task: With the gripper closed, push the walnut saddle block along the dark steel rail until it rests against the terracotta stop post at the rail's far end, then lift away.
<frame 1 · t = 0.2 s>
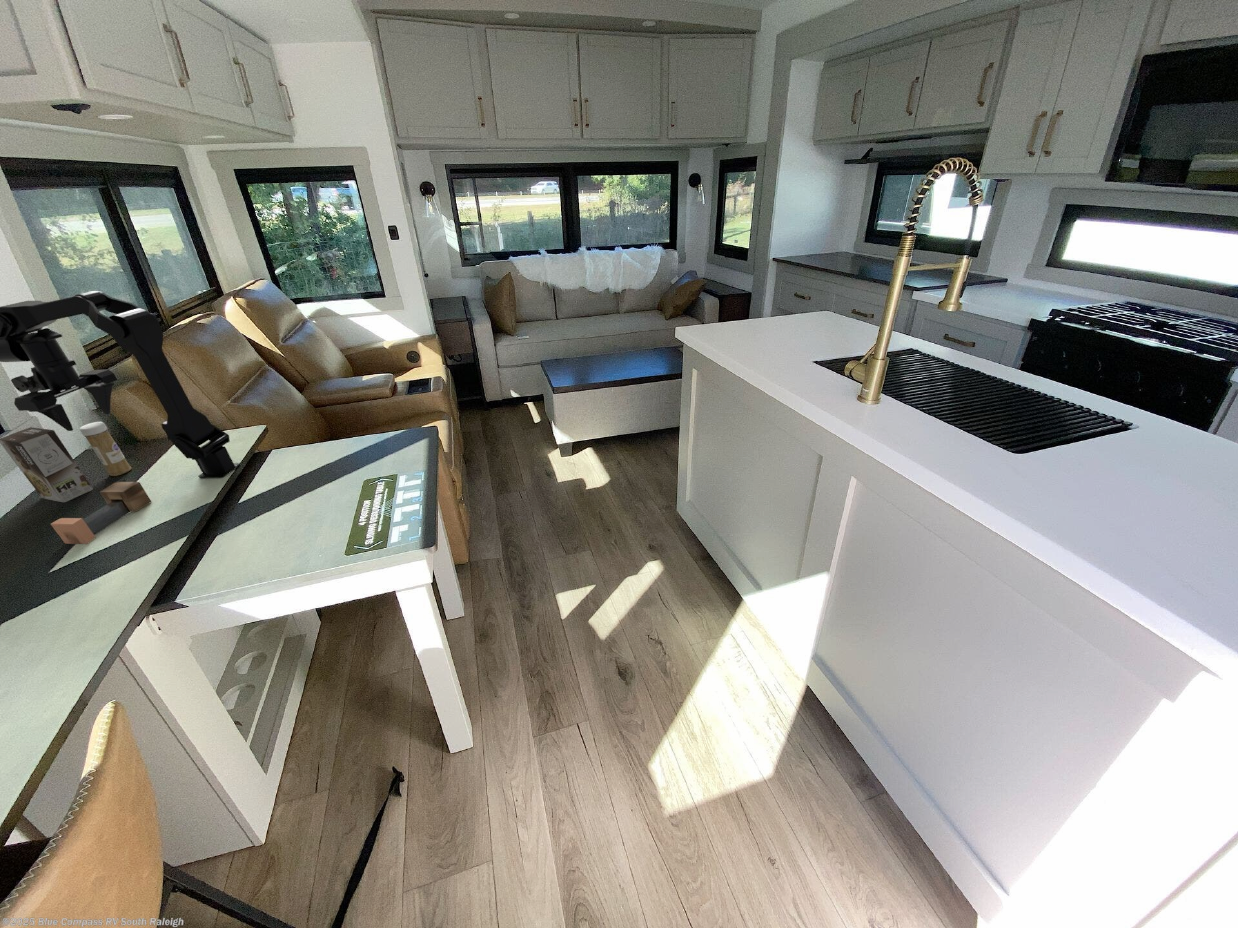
hand: (89, 422, 125), 14 cm above the table, tool pointing down, fingers open, 9 cm apart
stop post: (80, 540, 107), on the table
sprinkles bottle: (121, 472, 133), on the table
coffee box: (68, 494, 124), on the table
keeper: (126, 496, 116), point 3 cm above the table, slide at 0.0 cm
rail: (112, 520, 113), on the table
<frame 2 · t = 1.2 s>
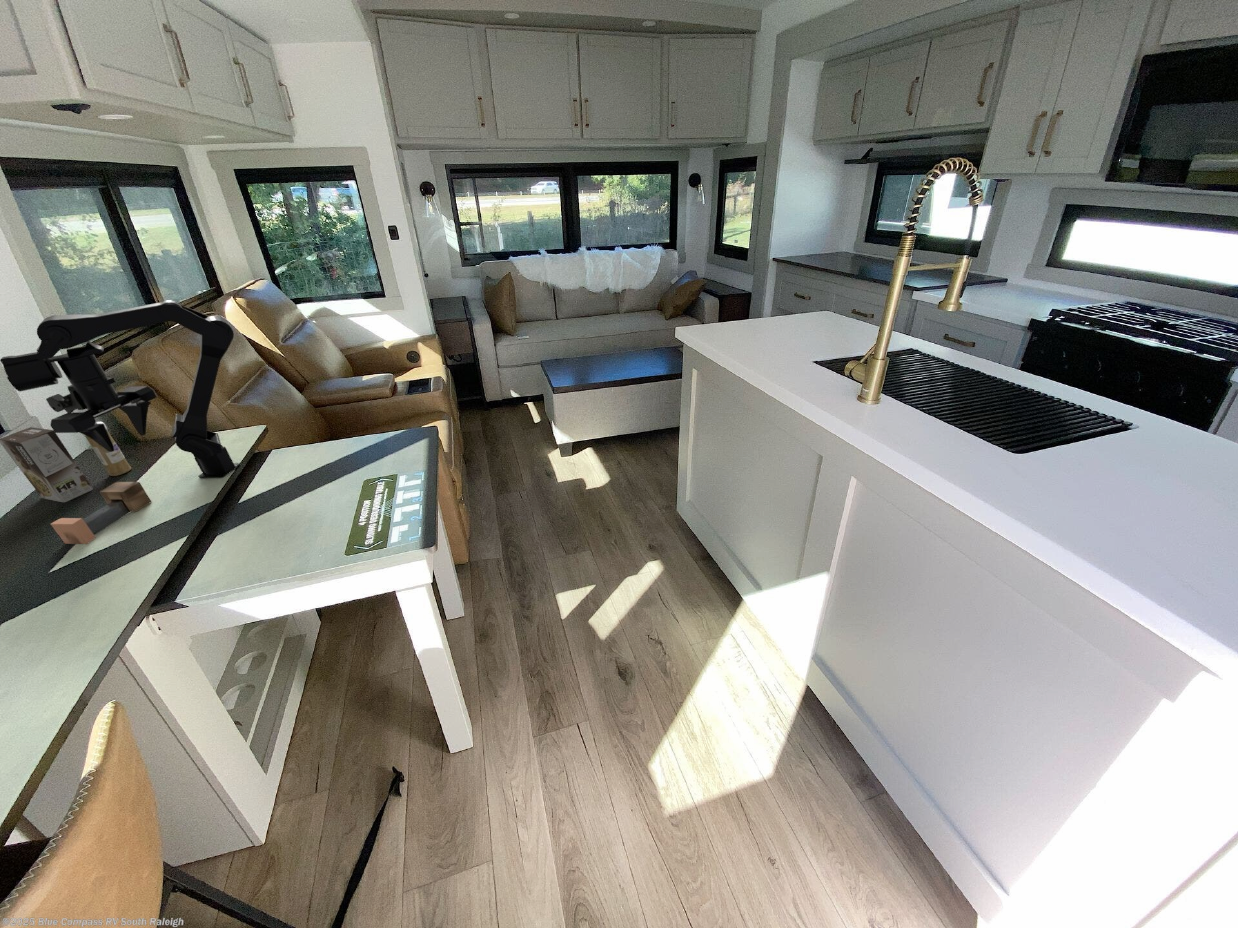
hand: (127, 443, 116), 13 cm above the table, tool pointing down, fingers open, 7 cm apart
nothing on the table moved.
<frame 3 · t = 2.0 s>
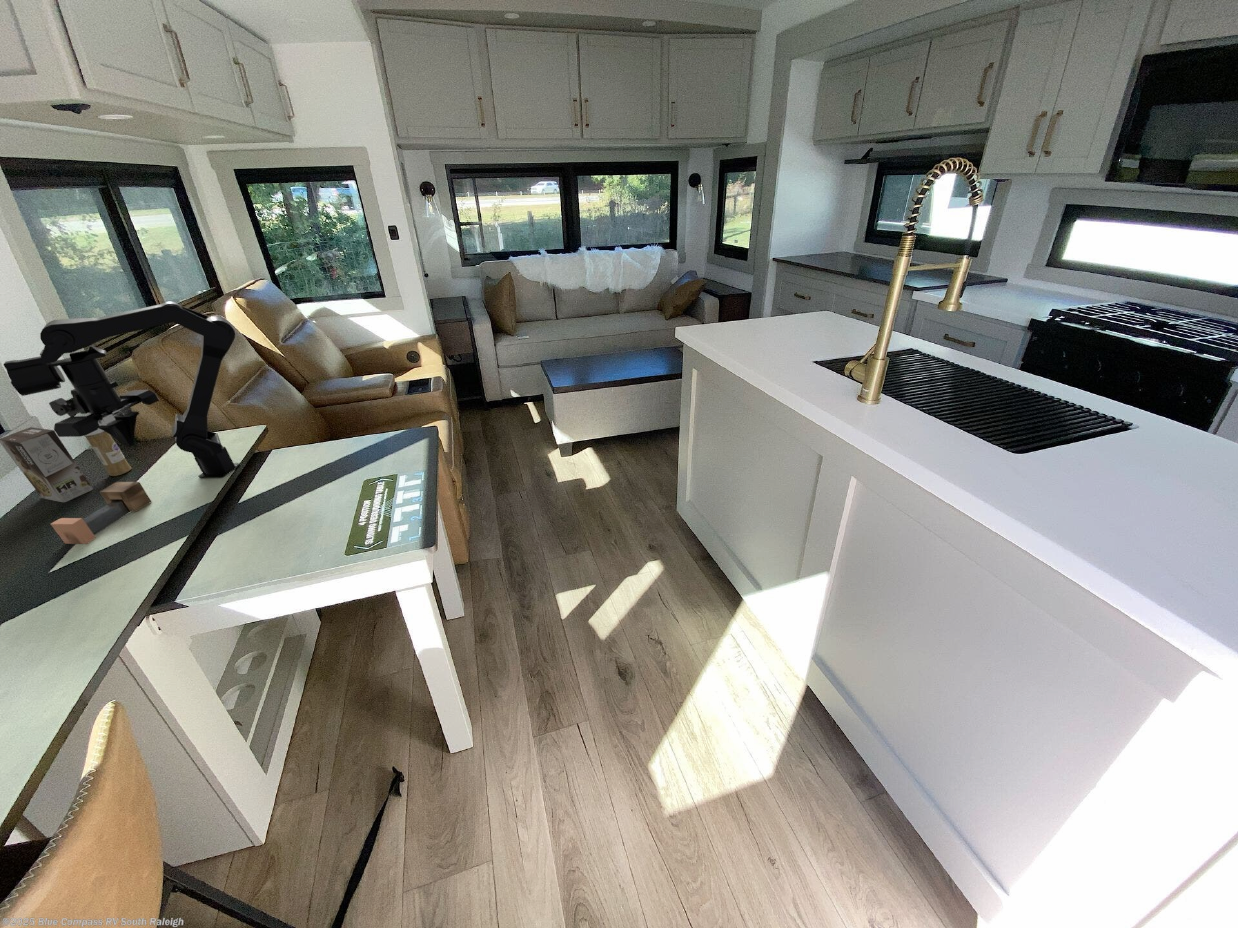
hand: (130, 446, 117), 12 cm above the table, tool pointing down, fingers closed
nothing on the table moved.
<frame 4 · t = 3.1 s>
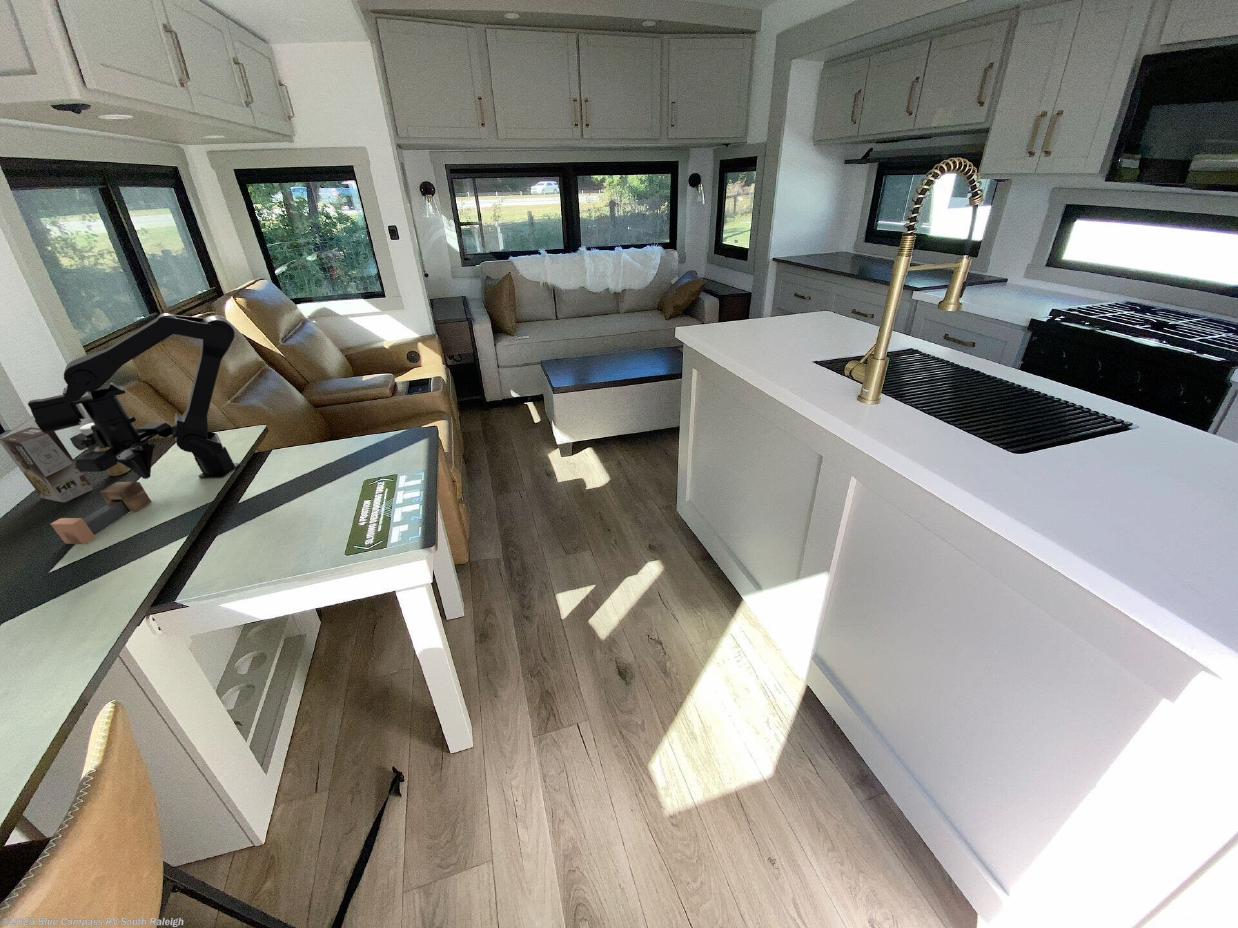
hand: (147, 477, 120), 4 cm above the table, tool pointing down, fingers closed
nothing on the table moved.
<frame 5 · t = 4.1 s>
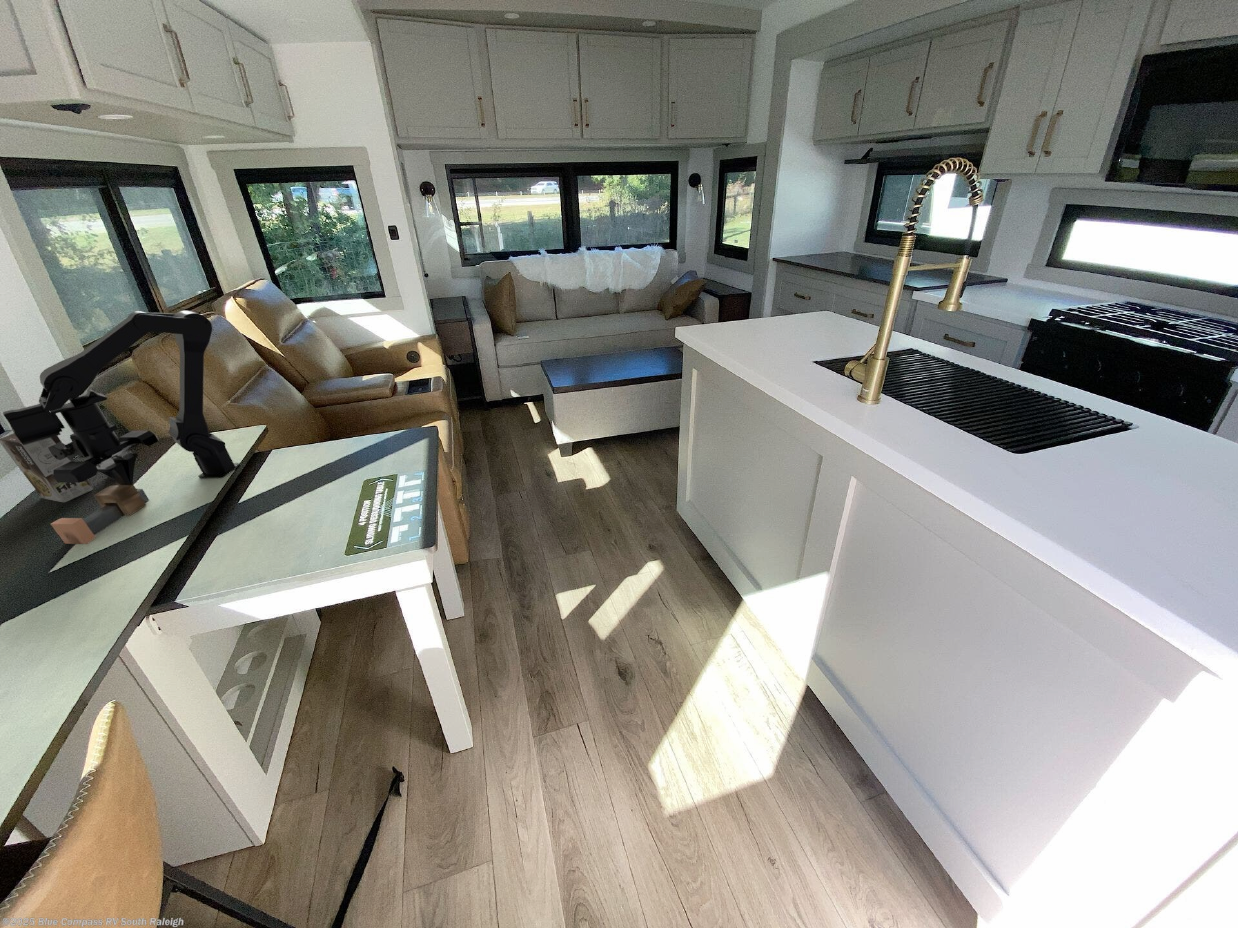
hand: (129, 488, 116), 4 cm above the table, tool pointing down, fingers closed
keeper: (120, 500, 114), point 3 cm above the table, slide at 1.4 cm, touching gripper
everything else where it was.
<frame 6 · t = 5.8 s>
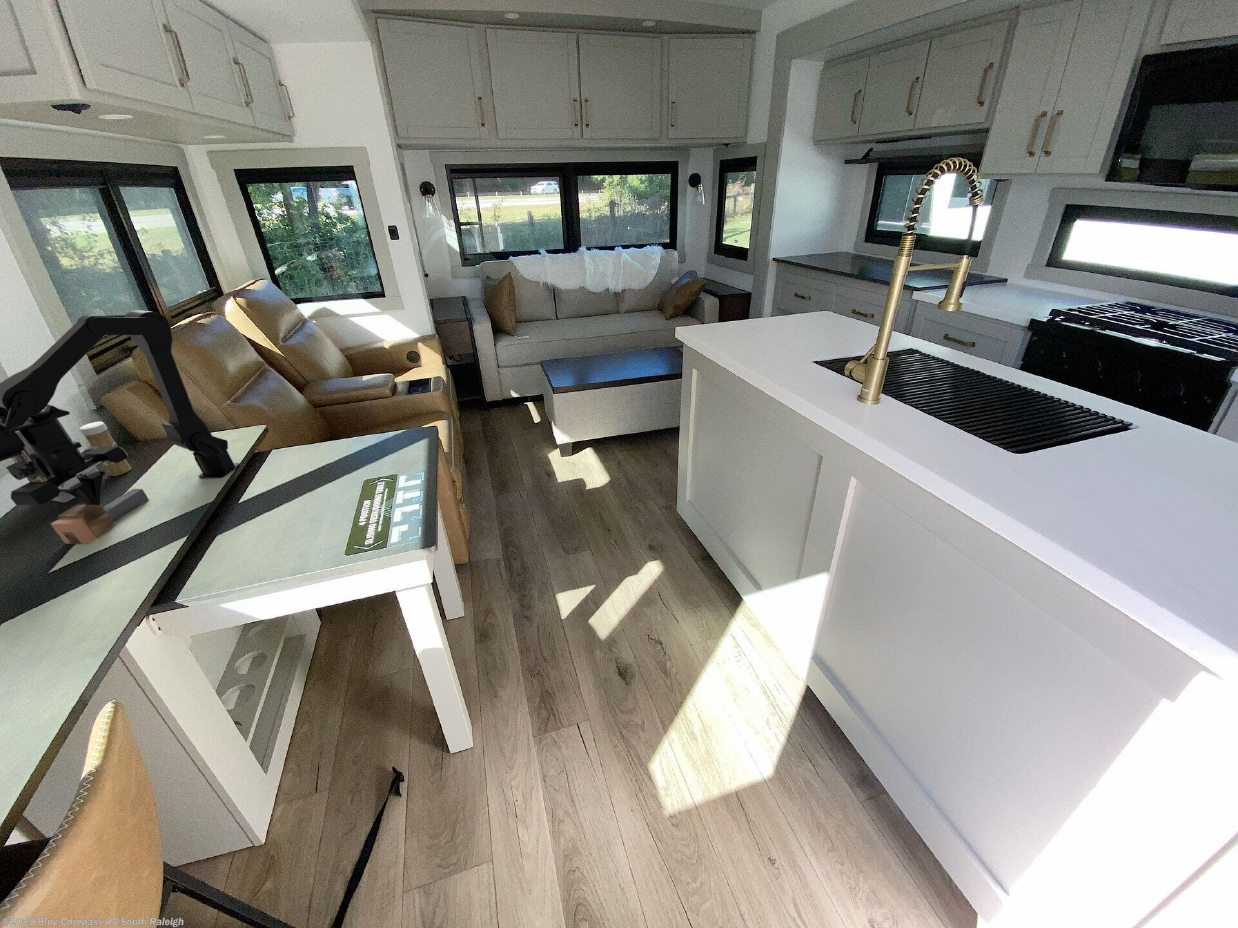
hand: (96, 507, 110), 4 cm above the table, tool pointing down, fingers closed
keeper: (86, 520, 108), point 3 cm above the table, slide at 9.0 cm, touching gripper, stop post
everything else where it was.
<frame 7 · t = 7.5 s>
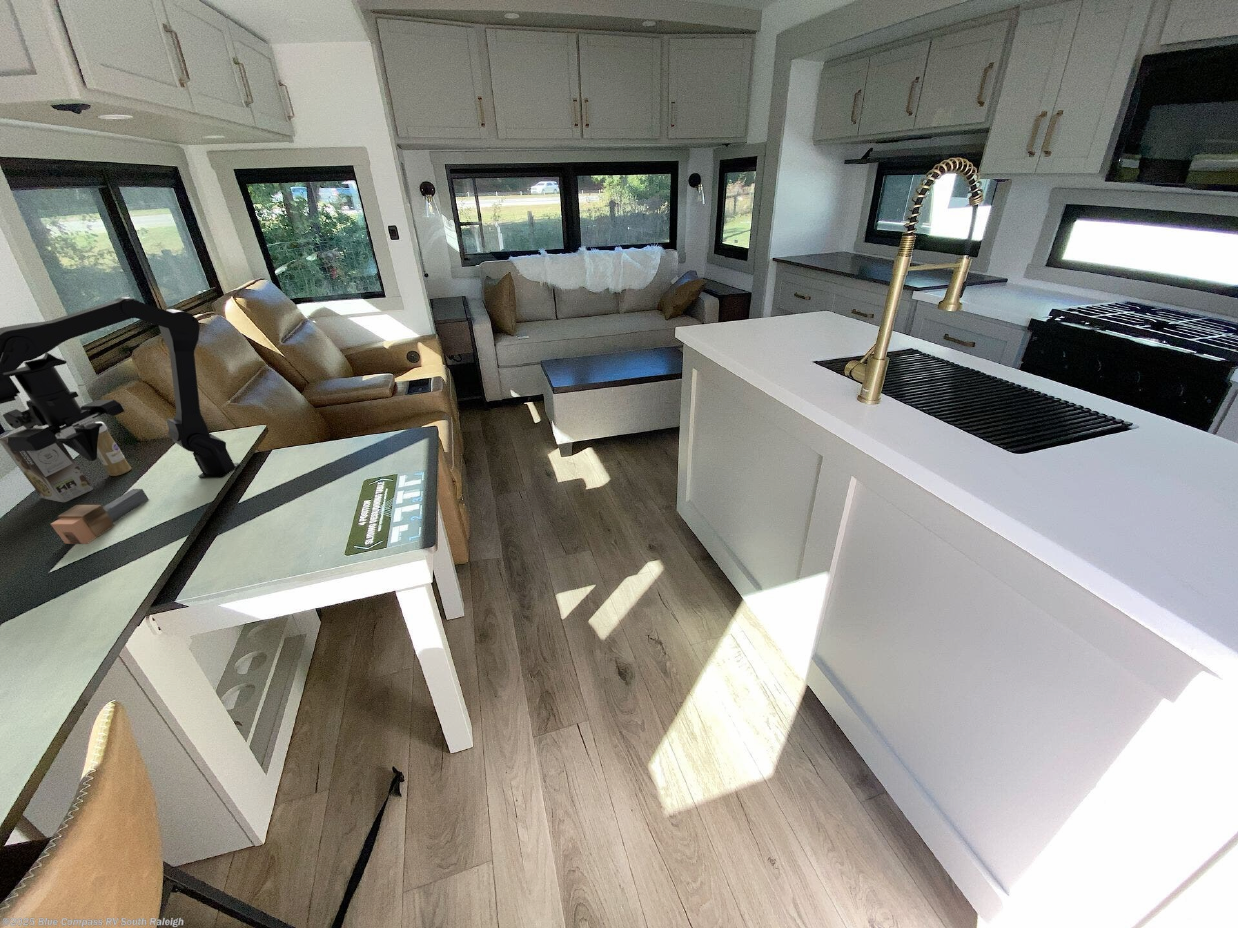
hand: (93, 460, 110), 13 cm above the table, tool pointing down, fingers closed
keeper: (86, 520, 108), point 3 cm above the table, slide at 9.0 cm
everything else where it was.
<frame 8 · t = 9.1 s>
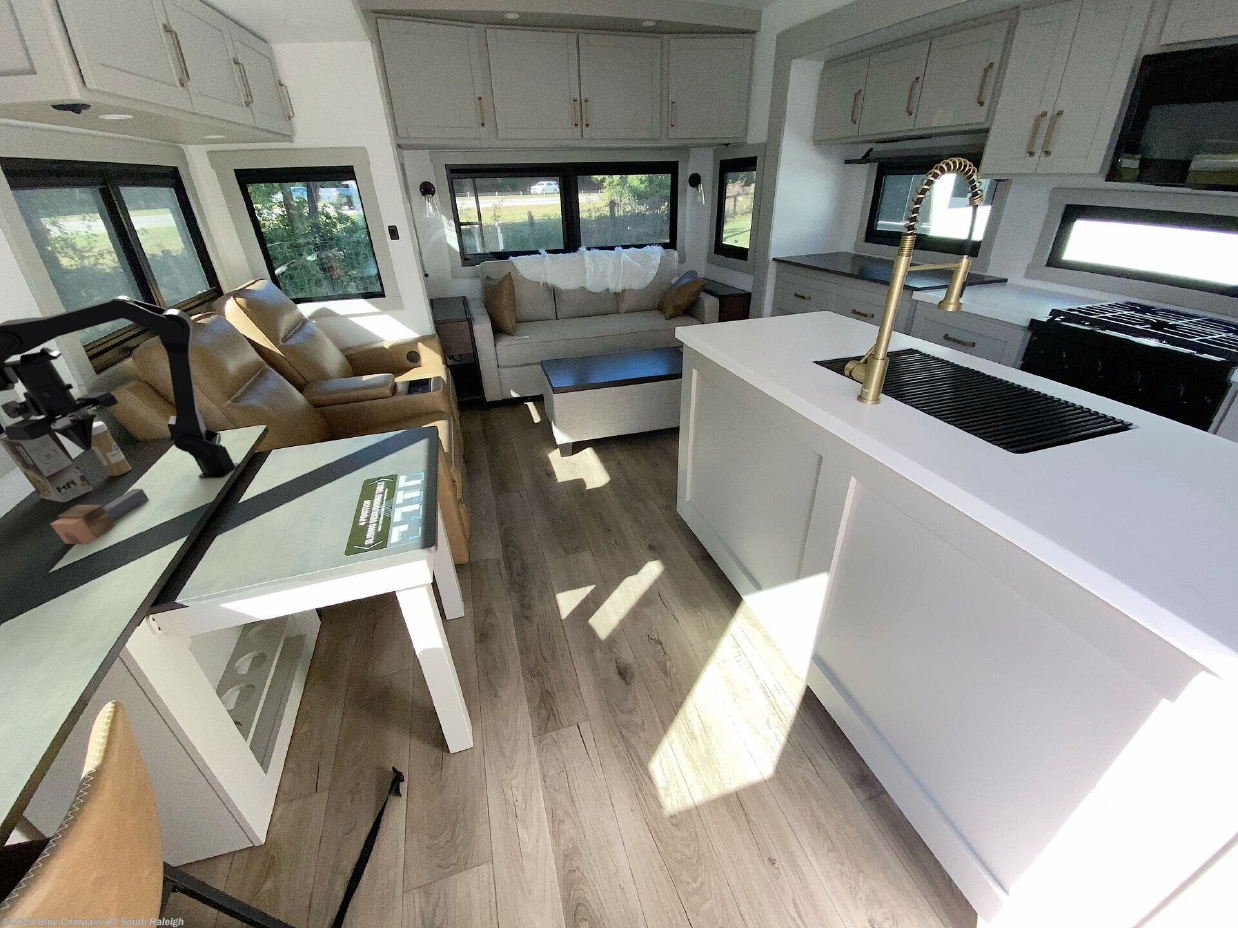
hand: (87, 449, 114), 13 cm above the table, tool pointing down, fingers closed
nothing on the table moved.
at the end: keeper slide at 9.0 cm; the gripper is holding nothing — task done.
